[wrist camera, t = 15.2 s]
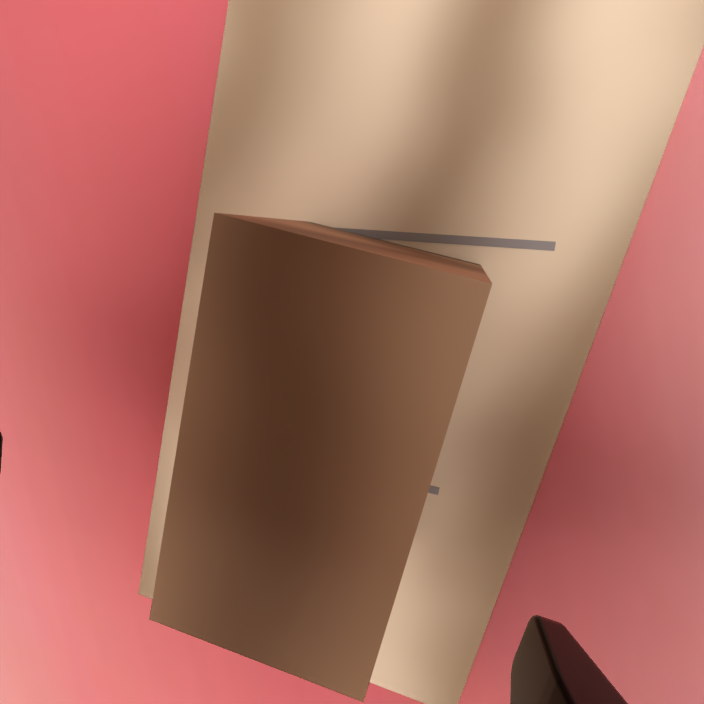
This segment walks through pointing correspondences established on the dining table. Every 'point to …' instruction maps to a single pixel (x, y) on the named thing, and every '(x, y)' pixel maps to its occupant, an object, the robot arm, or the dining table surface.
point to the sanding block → (310, 440)
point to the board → (452, 230)
